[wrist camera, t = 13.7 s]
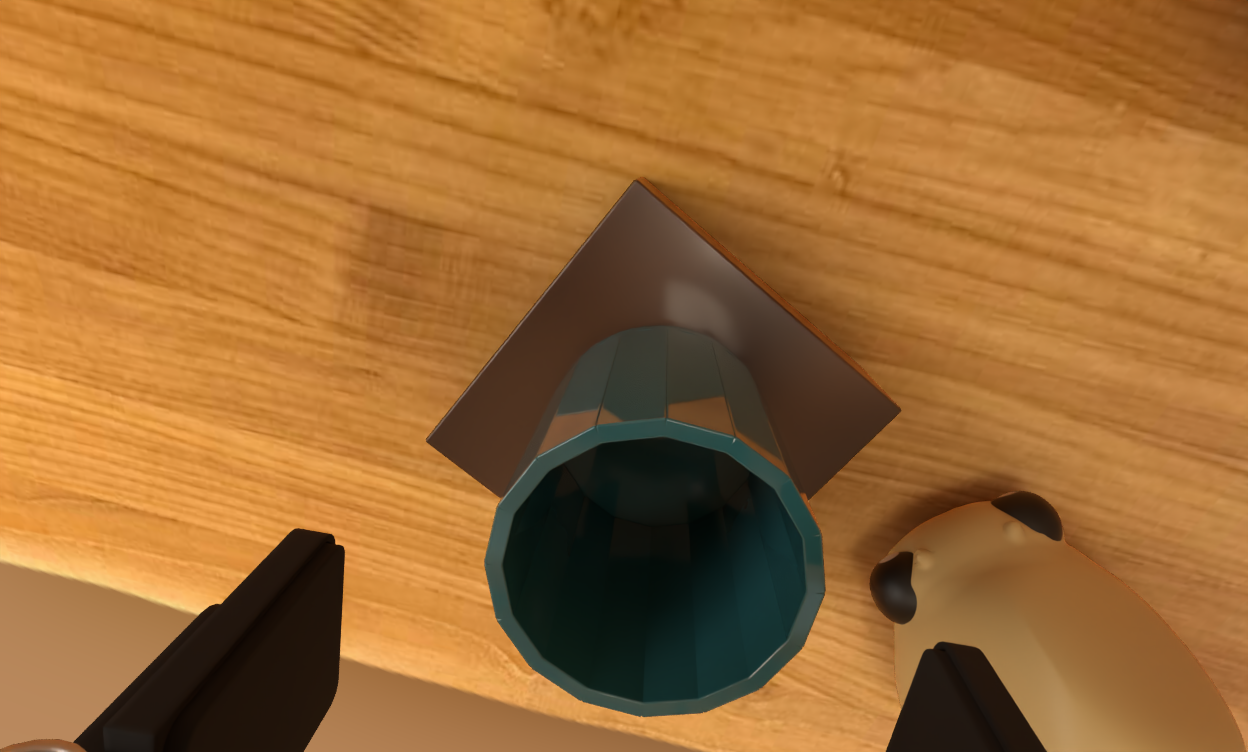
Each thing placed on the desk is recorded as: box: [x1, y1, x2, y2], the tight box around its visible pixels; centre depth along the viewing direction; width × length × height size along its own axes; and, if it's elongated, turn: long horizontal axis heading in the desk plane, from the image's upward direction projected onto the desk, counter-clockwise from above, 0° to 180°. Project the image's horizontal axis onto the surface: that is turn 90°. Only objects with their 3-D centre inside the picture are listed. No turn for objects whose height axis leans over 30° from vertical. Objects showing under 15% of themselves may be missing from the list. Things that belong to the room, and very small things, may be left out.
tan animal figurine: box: [870, 491, 1246, 752], centre depth 25 cm, size 10×12×11 cm
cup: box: [484, 325, 826, 717], centre depth 19 cm, size 7×7×8 cm
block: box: [426, 177, 901, 500], centre depth 25 cm, size 11×11×5 cm
